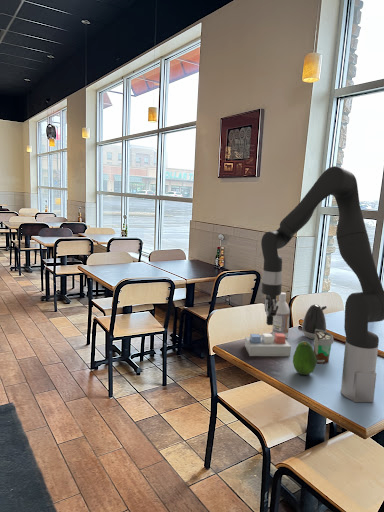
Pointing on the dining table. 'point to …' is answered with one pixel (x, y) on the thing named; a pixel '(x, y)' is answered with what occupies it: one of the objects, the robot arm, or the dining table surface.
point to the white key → (267, 338)
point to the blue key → (255, 338)
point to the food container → (322, 346)
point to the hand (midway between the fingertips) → (269, 324)
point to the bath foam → (281, 317)
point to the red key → (279, 338)
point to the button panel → (267, 348)
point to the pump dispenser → (314, 321)
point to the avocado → (304, 358)
